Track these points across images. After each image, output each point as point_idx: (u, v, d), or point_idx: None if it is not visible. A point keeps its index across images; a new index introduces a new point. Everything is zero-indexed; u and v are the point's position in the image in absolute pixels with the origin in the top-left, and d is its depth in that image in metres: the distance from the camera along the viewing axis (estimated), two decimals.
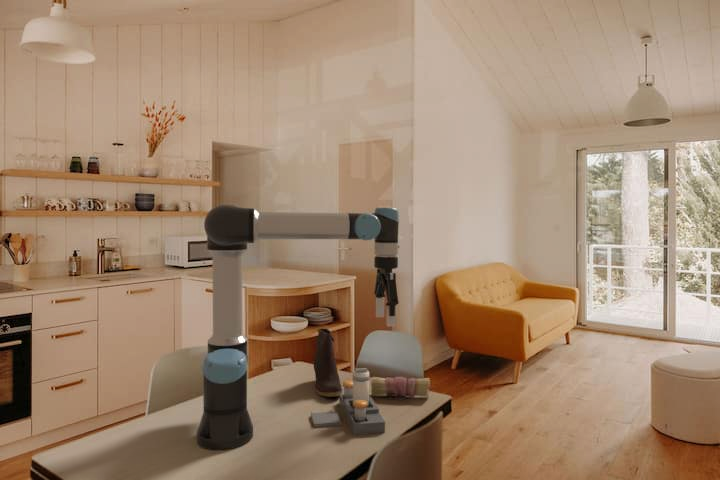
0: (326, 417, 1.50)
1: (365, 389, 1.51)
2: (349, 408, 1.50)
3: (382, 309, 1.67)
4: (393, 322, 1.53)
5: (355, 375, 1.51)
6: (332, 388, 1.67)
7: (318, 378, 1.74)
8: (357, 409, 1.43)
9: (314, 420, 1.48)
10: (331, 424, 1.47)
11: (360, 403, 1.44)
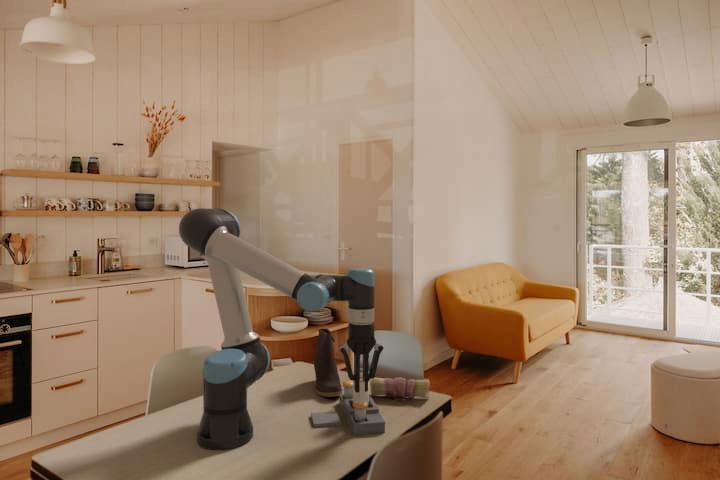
0: (326, 417, 1.50)
1: None
2: (349, 408, 1.50)
3: None
4: (359, 399, 1.44)
5: None
6: (332, 388, 1.67)
7: (318, 378, 1.75)
8: (357, 409, 1.43)
9: (314, 420, 1.48)
10: (331, 424, 1.47)
11: None
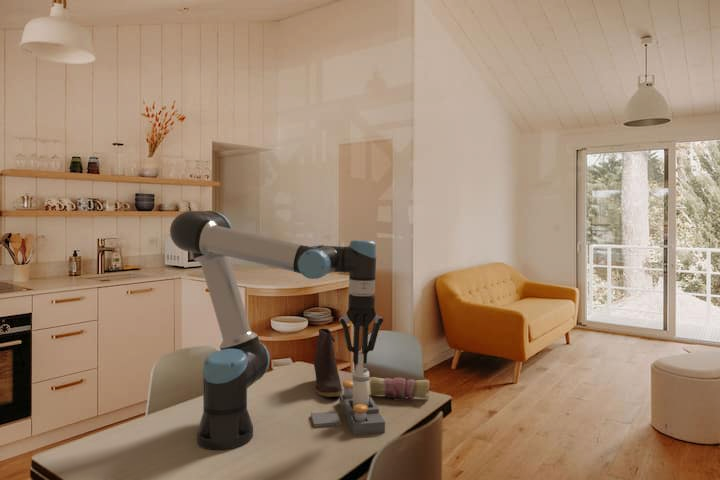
0: (326, 417, 1.50)
1: (365, 389, 1.51)
2: (349, 408, 1.50)
3: None
4: (357, 371, 1.43)
5: (355, 375, 1.51)
6: (332, 388, 1.67)
7: (318, 378, 1.75)
8: (357, 413, 1.43)
9: (314, 420, 1.48)
10: (331, 424, 1.47)
11: (360, 407, 1.44)
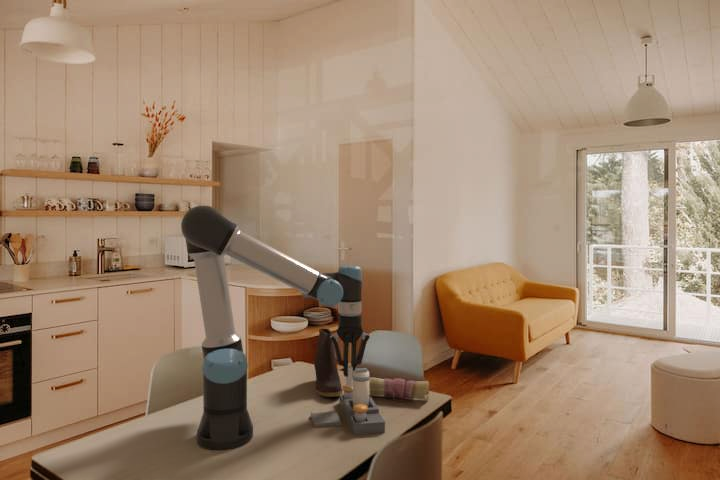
0: (326, 417, 1.50)
1: (365, 389, 1.51)
2: (349, 408, 1.50)
3: None
4: (347, 383, 1.60)
5: (355, 375, 1.51)
6: (332, 388, 1.67)
7: (318, 378, 1.75)
8: (357, 413, 1.43)
9: (314, 420, 1.48)
10: (331, 424, 1.47)
11: (360, 407, 1.44)
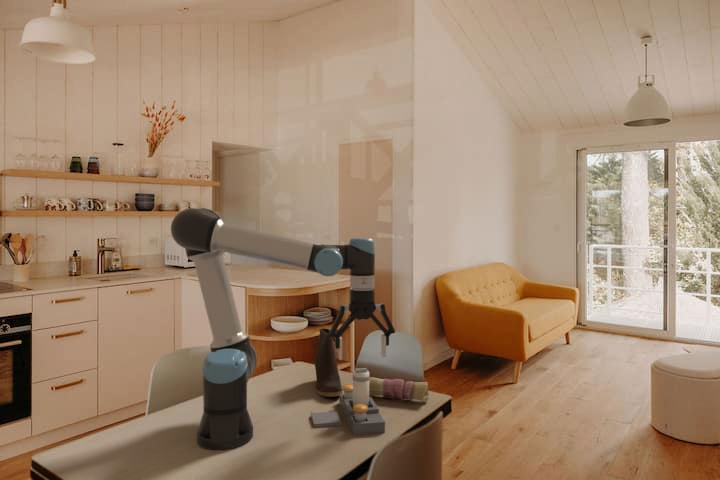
0: (326, 417, 1.50)
1: (365, 389, 1.51)
2: (349, 408, 1.50)
3: (383, 348, 1.53)
4: (339, 355, 1.50)
5: (355, 375, 1.51)
6: (332, 388, 1.67)
7: (319, 378, 1.75)
8: (357, 413, 1.43)
9: (314, 420, 1.48)
10: (331, 424, 1.47)
11: (360, 407, 1.44)
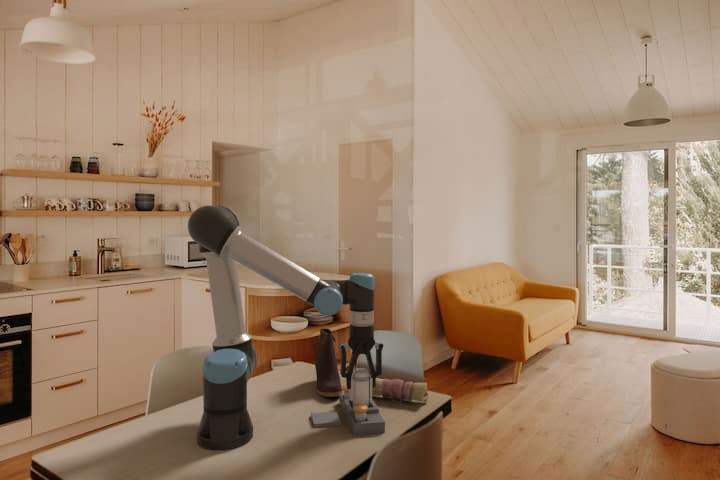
0: (326, 417, 1.50)
1: (365, 389, 1.51)
2: (349, 408, 1.50)
3: (369, 390, 1.53)
4: (350, 396, 1.52)
5: (355, 375, 1.51)
6: (332, 388, 1.67)
7: (319, 378, 1.75)
8: (357, 413, 1.43)
9: (314, 420, 1.48)
10: (331, 424, 1.47)
11: (360, 407, 1.44)
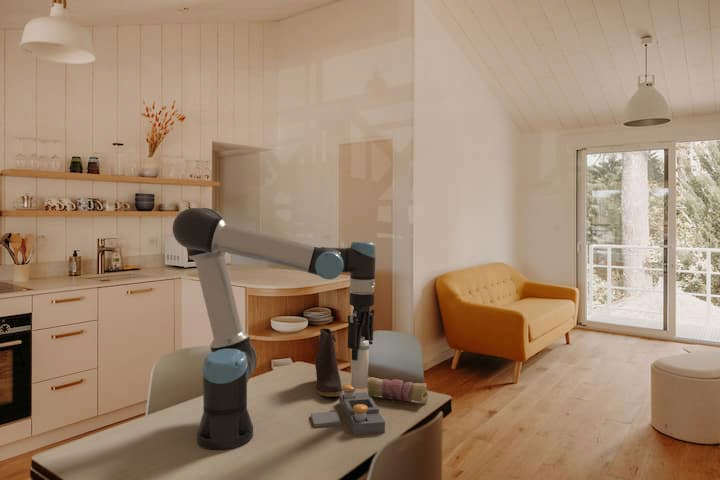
0: (326, 417, 1.50)
1: (368, 356, 1.52)
2: (349, 408, 1.50)
3: None
4: (357, 366, 1.50)
5: (361, 344, 1.50)
6: (332, 388, 1.67)
7: (319, 378, 1.75)
8: (357, 413, 1.43)
9: (314, 420, 1.48)
10: (331, 424, 1.47)
11: (360, 407, 1.44)
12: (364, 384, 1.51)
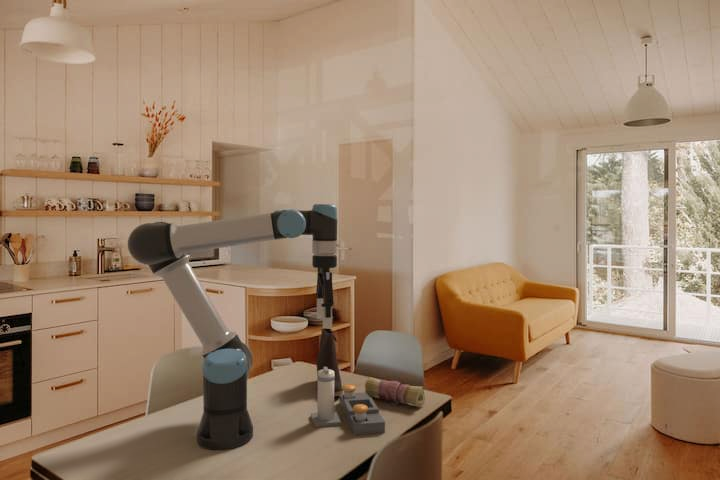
0: None
1: None
2: (349, 408, 1.50)
3: None
4: (329, 324, 1.47)
5: (331, 375, 1.48)
6: None
7: None
8: (357, 413, 1.43)
9: (314, 420, 1.48)
10: (331, 424, 1.47)
11: (360, 407, 1.44)
12: (333, 414, 1.50)
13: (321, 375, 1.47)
